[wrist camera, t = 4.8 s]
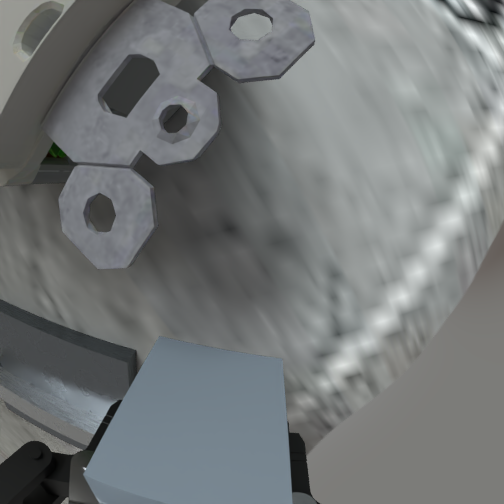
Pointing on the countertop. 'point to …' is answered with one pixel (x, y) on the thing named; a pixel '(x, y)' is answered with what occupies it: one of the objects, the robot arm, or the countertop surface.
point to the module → (197, 431)
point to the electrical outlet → (123, 98)
